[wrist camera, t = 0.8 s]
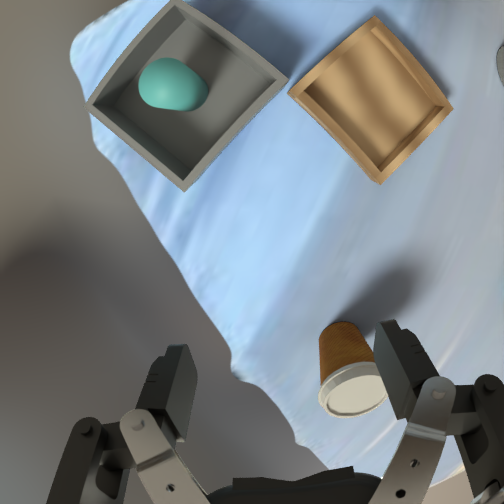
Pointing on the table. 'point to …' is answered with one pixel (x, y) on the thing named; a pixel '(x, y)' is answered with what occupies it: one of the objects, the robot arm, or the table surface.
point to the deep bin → (181, 122)
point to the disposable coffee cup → (348, 373)
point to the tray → (373, 99)
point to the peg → (172, 86)
